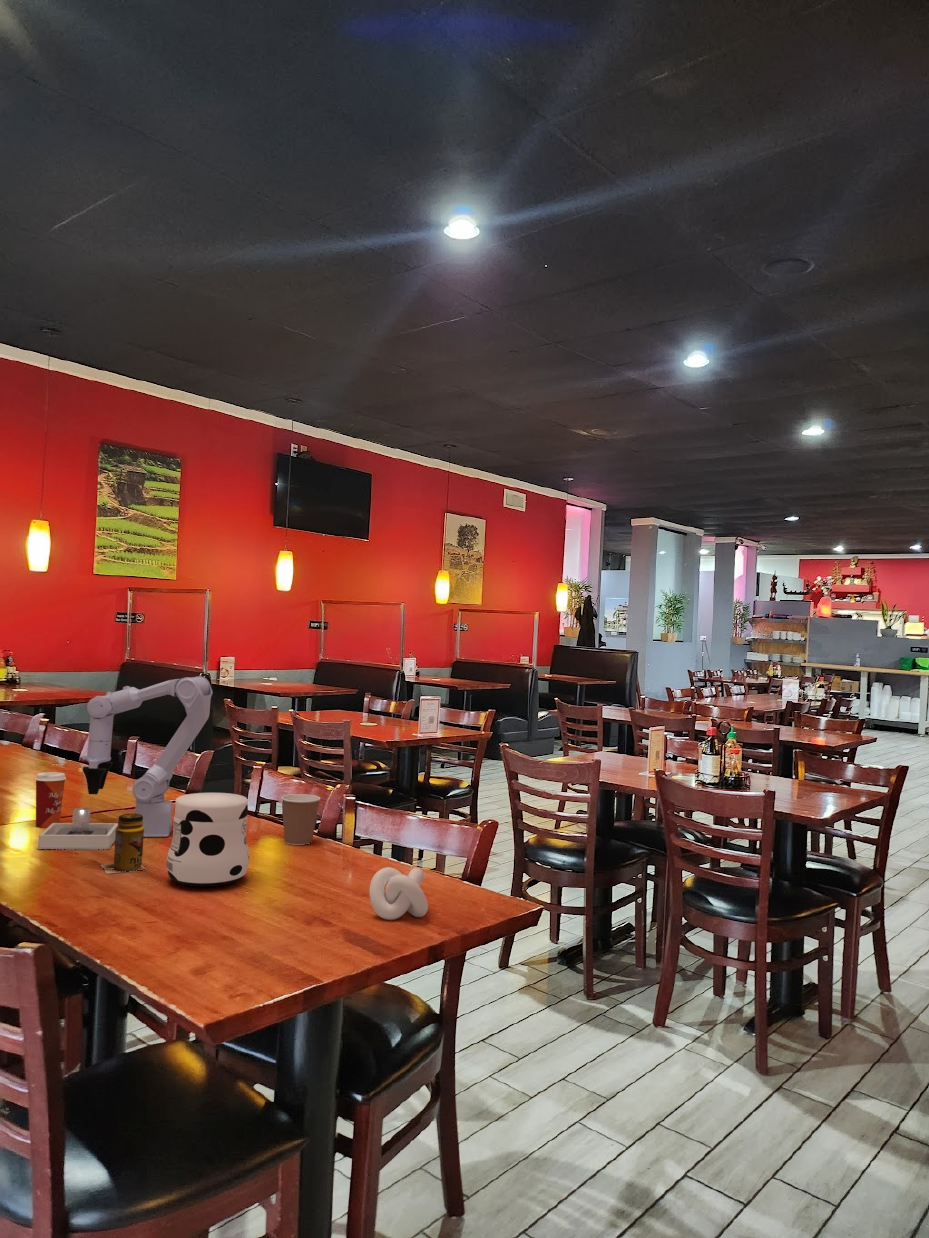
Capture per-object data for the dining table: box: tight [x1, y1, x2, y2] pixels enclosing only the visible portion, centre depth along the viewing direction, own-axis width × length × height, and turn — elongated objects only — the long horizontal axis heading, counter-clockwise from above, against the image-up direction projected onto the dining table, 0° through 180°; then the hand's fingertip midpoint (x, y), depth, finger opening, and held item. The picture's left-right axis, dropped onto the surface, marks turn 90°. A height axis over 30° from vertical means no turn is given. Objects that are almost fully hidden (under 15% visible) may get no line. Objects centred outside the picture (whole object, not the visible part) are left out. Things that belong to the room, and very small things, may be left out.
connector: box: [71, 807, 91, 835], centre depth 214 cm, size 4×4×8 cm
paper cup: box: [34, 771, 67, 829], centre depth 231 cm, size 8×8×14 cm
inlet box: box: [37, 822, 118, 851], centre depth 214 cm, size 16×14×4 cm
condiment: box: [100, 813, 147, 875], centre depth 194 cm, size 7×8×12 cm
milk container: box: [166, 792, 250, 888], centre depth 187 cm, size 17×17×18 cm
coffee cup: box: [280, 793, 321, 846], centre depth 226 cm, size 10×10×12 cm
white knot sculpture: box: [369, 866, 429, 921], centre depth 170 cm, size 11×12×9 cm
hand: (95, 791), depth 228 cm, fingers open, 7 cm apart
